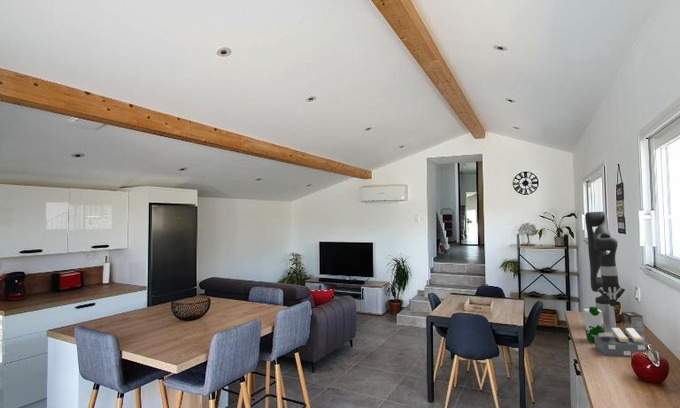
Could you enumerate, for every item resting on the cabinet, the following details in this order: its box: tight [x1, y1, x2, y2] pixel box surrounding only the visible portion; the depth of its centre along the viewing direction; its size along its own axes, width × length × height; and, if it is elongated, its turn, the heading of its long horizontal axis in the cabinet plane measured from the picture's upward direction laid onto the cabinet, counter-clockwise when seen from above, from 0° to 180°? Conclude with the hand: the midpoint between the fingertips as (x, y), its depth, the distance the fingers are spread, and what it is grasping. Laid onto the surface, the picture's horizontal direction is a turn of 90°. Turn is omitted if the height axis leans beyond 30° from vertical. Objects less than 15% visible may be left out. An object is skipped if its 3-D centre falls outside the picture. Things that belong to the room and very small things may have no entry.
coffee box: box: [621, 311, 646, 342], centre depth 209 cm, size 9×6×16 cm
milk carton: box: [582, 306, 604, 344], centre depth 215 cm, size 9×9×20 cm
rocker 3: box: [625, 328, 643, 342], centre depth 195 cm, size 10×4×2 cm, turn 166°
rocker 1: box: [598, 332, 614, 337], centre depth 199 cm, size 10×4×2 cm, turn 163°
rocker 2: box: [611, 327, 628, 342], centre depth 197 cm, size 10×4×2 cm, turn 166°
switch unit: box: [594, 335, 650, 357], centre depth 197 cm, size 13×20×7 cm, turn 74°
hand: (612, 306), depth 202 cm, fingers closed
